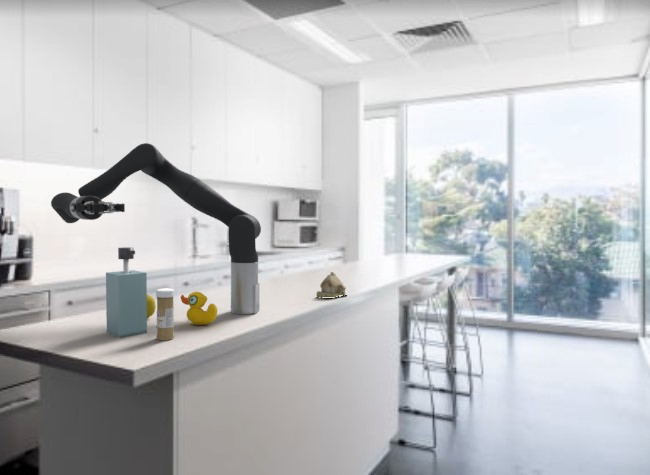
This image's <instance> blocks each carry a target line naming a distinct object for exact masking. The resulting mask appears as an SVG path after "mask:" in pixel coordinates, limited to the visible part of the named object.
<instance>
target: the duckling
mask: <svg viewBox="0 0 650 475" xmlns="http://www.w3.org/2000/svg"><path fill="white" fill-rule="evenodd" d="M180 300H181V302H182V304H184V305H186V306H187V305H188V306H189V308H188V310H187V311H186V318H187V319H188V321H189V322H190V323H191V324H192V325H196V326H199V325H200V326H204V325H208V324H211V323H212V322H214V321H216V319H217V316H218V308H217V306H216V304H215V303H210V304H208V307H207V309H206V310H204V309H203V307H204V306H205V304H206V303H207V302H208V297H207V296H206V295H204V293H202V292H200V291H193V292H191V293H189V295H188V296H187V297H186V296H184V294H181V296H180Z"/></svg>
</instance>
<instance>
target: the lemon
mask: <svg viewBox="0 0 650 475" xmlns="http://www.w3.org/2000/svg"><path fill="white" fill-rule="evenodd" d="M156 306H157V304H156V301H155V298H154V297H153V296H151V295H149V294H148V293H147V320H148V319H149V318H150V317H152V316H153V315H154V314H155V312H156V309H157V307H156Z"/></svg>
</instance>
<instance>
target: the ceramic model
mask: <svg viewBox="0 0 650 475" xmlns="http://www.w3.org/2000/svg"><path fill="white" fill-rule="evenodd" d="M319 287H320V290H321V291H320V290H317V292H316V294H315V295H316V297H336V296H339V295H345V294H346V289H347V287H346V286H345V285H344V284H343V282H342V281H341V279H340V278H339V277H338V276H337V275H336V273H335V272H333V271H332V272H330V274H328V275H327V276H326V277H325V278H324V279H323V280H322V282H321V283H320V285H319Z"/></svg>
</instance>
